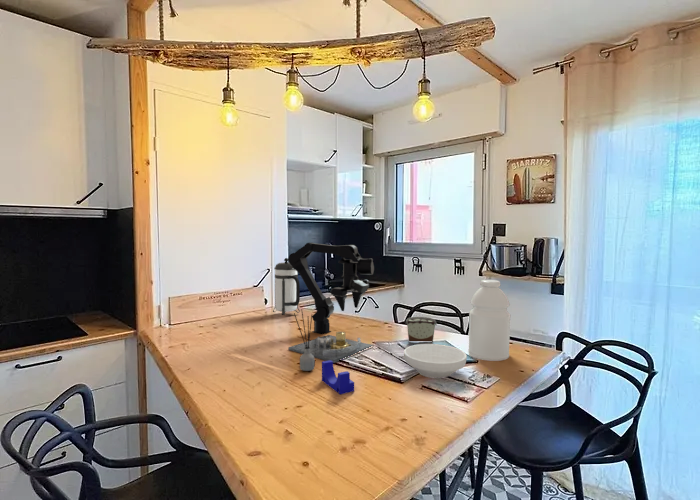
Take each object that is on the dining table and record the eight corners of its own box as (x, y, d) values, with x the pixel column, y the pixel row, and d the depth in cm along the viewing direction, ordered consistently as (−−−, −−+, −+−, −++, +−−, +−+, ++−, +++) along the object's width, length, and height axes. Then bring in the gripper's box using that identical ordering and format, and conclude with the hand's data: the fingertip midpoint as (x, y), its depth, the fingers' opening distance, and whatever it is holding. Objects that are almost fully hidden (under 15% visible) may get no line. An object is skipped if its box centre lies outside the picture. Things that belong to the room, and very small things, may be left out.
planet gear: (326, 348, 148) (326, 333, 148) (339, 344, 154) (339, 329, 154) (341, 353, 143) (342, 336, 143) (354, 348, 149) (354, 332, 149)
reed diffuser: (319, 373, 126) (320, 311, 125) (299, 377, 122) (299, 313, 121) (307, 363, 135) (307, 305, 133) (288, 367, 131) (288, 307, 130)
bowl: (429, 391, 112) (430, 367, 112) (391, 369, 130) (391, 348, 129) (480, 380, 121) (480, 357, 121) (438, 360, 139) (438, 340, 138)
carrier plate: (288, 349, 150) (288, 340, 150) (328, 337, 168) (328, 329, 168) (334, 363, 135) (334, 353, 135) (372, 347, 153) (373, 338, 153)
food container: (434, 340, 164) (435, 316, 163) (436, 345, 158) (436, 320, 157) (404, 339, 165) (404, 316, 164) (405, 343, 159) (405, 319, 158)
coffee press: (267, 315, 209) (267, 258, 208) (278, 309, 225) (277, 256, 224) (299, 316, 207) (299, 259, 205) (307, 310, 222) (307, 257, 221)
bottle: (461, 357, 142) (463, 280, 141) (478, 349, 152) (480, 277, 151) (499, 367, 133) (502, 284, 131) (515, 357, 143) (517, 280, 141)
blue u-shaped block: (354, 392, 112) (354, 371, 111) (340, 395, 110) (340, 374, 109) (334, 378, 122) (335, 359, 122) (321, 381, 120) (321, 361, 120)
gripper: (350, 277, 159) (350, 315, 160) (377, 273, 174) (376, 308, 175) (330, 275, 166) (330, 311, 167) (357, 271, 181) (357, 305, 182)
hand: (349, 309), depth 172 cm, fingers open, 9 cm apart
